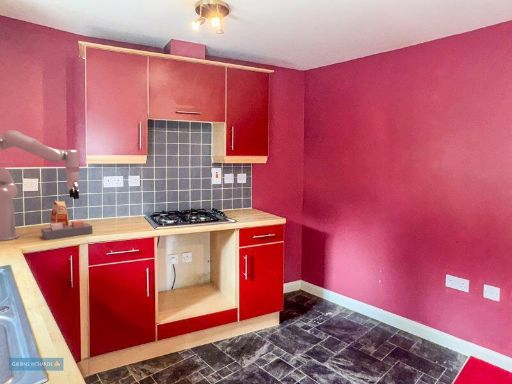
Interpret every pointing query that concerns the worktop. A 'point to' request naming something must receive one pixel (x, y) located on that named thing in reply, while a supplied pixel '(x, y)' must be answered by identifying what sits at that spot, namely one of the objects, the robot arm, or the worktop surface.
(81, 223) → the terracotta key
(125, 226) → the worktop surface
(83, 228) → the key block
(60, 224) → the ivory key
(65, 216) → the milk carton
